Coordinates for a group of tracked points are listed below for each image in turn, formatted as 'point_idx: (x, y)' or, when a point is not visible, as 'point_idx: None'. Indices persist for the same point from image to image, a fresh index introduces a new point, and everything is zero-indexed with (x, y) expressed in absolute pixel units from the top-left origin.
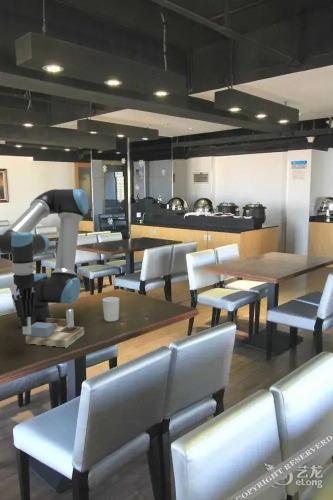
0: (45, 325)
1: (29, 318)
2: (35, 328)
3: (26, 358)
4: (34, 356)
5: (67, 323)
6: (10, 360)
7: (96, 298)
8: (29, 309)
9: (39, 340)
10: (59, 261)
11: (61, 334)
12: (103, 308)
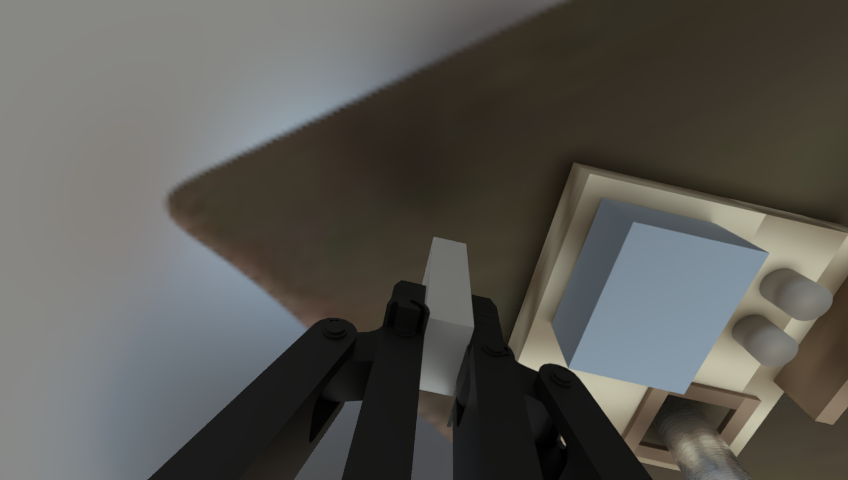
0: (642, 347)
1: (432, 383)
2: (601, 279)
3: (342, 242)
4: (371, 275)
5: (692, 458)
6: (306, 162)
7: None
8: (453, 477)
9: (545, 271)
10: None
11: (603, 389)
12: None
